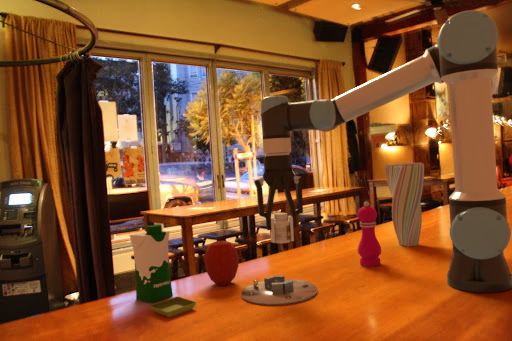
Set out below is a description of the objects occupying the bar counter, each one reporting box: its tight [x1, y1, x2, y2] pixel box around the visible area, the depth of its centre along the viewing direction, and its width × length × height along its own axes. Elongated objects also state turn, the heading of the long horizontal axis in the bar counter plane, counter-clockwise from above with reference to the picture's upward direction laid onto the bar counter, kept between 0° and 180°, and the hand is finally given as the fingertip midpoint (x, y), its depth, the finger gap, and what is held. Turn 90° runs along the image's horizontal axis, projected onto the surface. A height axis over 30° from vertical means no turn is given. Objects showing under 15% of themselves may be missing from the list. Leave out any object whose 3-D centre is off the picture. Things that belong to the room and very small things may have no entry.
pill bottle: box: [274, 212, 291, 244], centre depth 122 cm, size 4×4×8 cm
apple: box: [203, 236, 239, 287], centre depth 132 cm, size 10×10×14 cm
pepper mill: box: [357, 201, 382, 268], centre depth 143 cm, size 7×7×20 cm
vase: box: [384, 162, 425, 247], centre depth 167 cm, size 14×14×30 cm
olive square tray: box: [148, 296, 198, 318], centre depth 112 cm, size 9×9×2 cm
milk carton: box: [129, 224, 174, 305], centre depth 123 cm, size 9×9×20 cm
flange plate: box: [241, 274, 318, 306], centre depth 120 cm, size 20×20×4 cm
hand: (282, 240), depth 122 cm, fingers closed on pill bottle, 4 cm apart
